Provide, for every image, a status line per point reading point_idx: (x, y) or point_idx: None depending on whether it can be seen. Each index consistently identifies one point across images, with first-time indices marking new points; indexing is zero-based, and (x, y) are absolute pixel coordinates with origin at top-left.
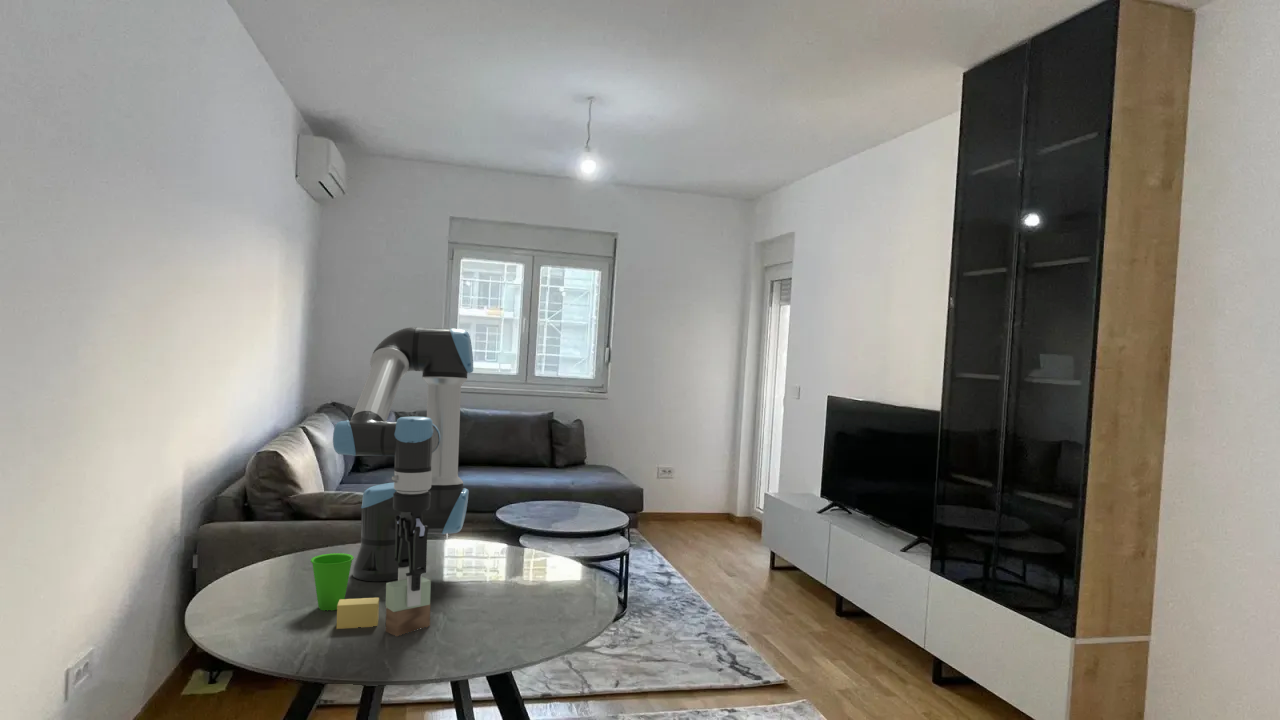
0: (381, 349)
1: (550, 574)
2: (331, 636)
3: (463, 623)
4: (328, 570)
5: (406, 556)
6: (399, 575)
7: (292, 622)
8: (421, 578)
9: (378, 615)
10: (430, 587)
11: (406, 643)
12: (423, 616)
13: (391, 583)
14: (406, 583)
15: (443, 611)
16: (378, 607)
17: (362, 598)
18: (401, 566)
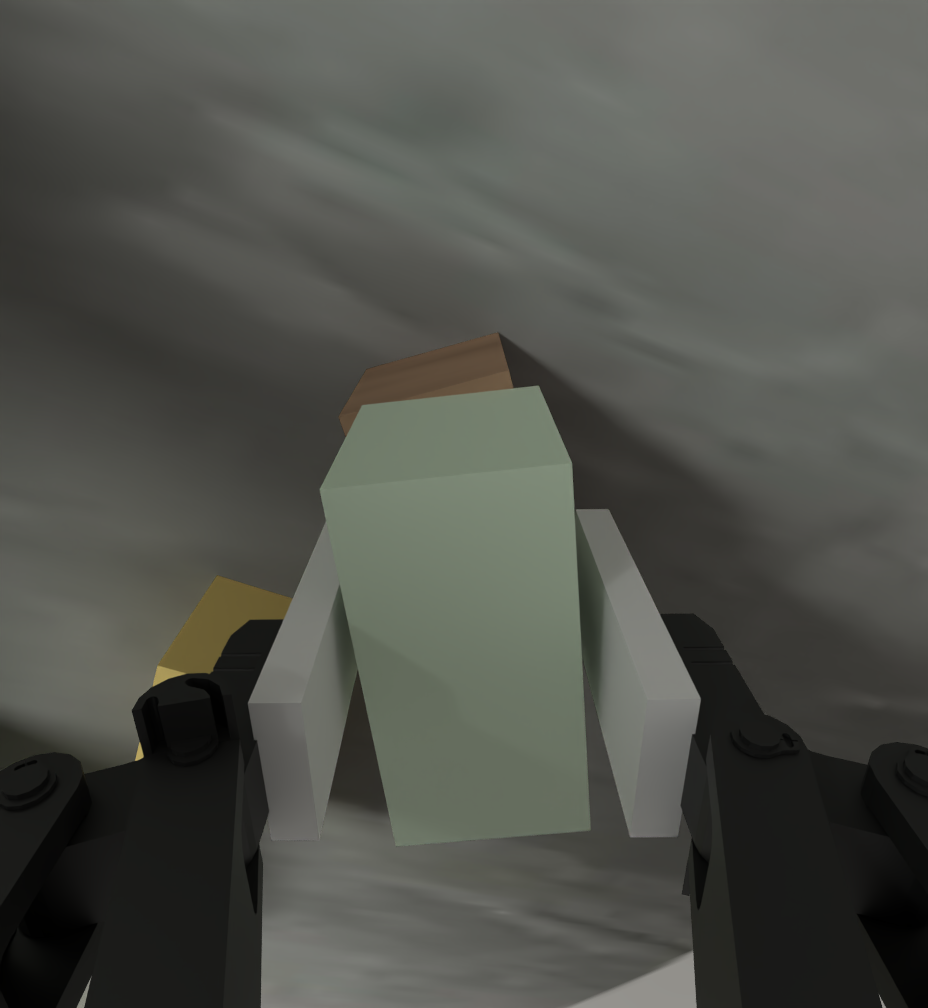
0: None
1: None
2: (376, 810)
3: (581, 55)
4: None
5: (248, 922)
6: (333, 767)
7: None
8: (405, 525)
9: (215, 595)
10: (558, 435)
11: (698, 554)
12: None
13: (441, 818)
14: (521, 715)
15: (206, 95)
16: (223, 640)
17: (140, 756)
18: (264, 822)
